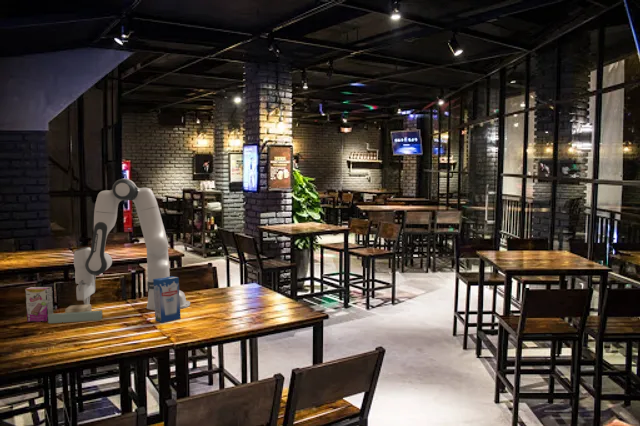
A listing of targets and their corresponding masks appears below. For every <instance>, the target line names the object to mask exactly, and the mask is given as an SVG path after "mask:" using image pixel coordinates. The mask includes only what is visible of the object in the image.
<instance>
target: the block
mask: <svg viewBox="0 0 640 426" xmlns="http://www.w3.org/2000/svg"><path fill="white" fill-rule="evenodd" d="M85 311H93V309H92V304H88V305H84V304H75V305H69V306H68V307H66V308H65V309H64V313H70V312H85Z"/></svg>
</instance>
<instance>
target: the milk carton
mask: <svg viewBox="0 0 640 426" xmlns="http://www.w3.org/2000/svg"><path fill="white" fill-rule="evenodd" d="M179 281H180V280H179V277H178V276H173V275H171V276H170V277H164V278H158V279H153V283H154V302H155V310H154V319H155V322H158V323H161V324H163V323H169V322H172V321H177V320H181V319H182V318H181V316H182V315H181V308H180V296H179V290H180V282H179Z"/></svg>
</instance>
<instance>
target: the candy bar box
mask: <svg viewBox="0 0 640 426" xmlns="http://www.w3.org/2000/svg"><path fill="white" fill-rule="evenodd" d="M24 290H25V293H24V294H25V303H26V321H27V323H29V322H31V323H33V322H35V323H36V322H37V323H38V322H40V323H41V321H42V323H44V322H45V323H46V321H48V315H49V314H54V304H53V303H54V301H53V300H54V299H53V288H52V286H34V287H33V286H31V287H27V288H25V289H24Z"/></svg>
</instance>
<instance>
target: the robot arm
mask: <svg viewBox="0 0 640 426" xmlns="http://www.w3.org/2000/svg"><path fill="white" fill-rule="evenodd" d="M95 200H96V201H95V204H94V211H93V234H92V240H91V247H89V246H85V247H81V248H78V249H76V250H75V251H74V252H73V266H74V270H75V271H74V278H75V280H74V281H75V284H76V288H75V290H76V293H75V294H76V295H75V296H76V300H77V301H83V305H88V304H90V300H91V296H92V295H93V294H95V292H96V277H97V276H100V275H102V274H104V272H106V271H107V270H108V269H109V268H110V267H111V266H112V265H113V257H112V256H111V255H110V254H109V253H107V252H105V251H106V242H107V238H108V235H109V234H110V232H111V231H112V229H113V228H114V227H115V225H116V222H117V218H118V210H119V209H118V208H119V204H120V202H123V201H132V202H133V203H134V204H133V205H134V206H135V209H136V213H137V217H138V222H139V226H140V228H141V232H142V235H143V239H144V244H145V248H146V261H147V262H146V263H147V265H146V266H147V267H146V268H147V283H146V285H147V293H148V297H147V305H146V309H147V310H152V311H155V302H154V283H153V279H158V278H164V277H170V275H171V274H170V273H171V272H170V261H169V260H170V259H169V258H170V257H169V241H168V238H167V234H166V233H167V232H166V230H165V226H164V223H163V219H162V215H161V212H160V211H161V210H160V208H159V205H158V204H159V203H158V201H157V198H156V195H155V193H154V191H153V190H152V189H151V188H149V187H138V186H137V184H136V183H135V182H134V181H133V180H131V179H130V178H129V179H128V178H121V179H118V180H116V181H115V182H114V184H113V185H112V188H111V189H110V190H107V189H106V190H101V191H100V192H99V193H98V194H97V197H96V199H95ZM77 284H78V285H77ZM179 296H180V309H185V308H188V307H190V306H191V301H190V300H187V299H186V295H185V292H184V291H182V290H180V289H179Z"/></svg>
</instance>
